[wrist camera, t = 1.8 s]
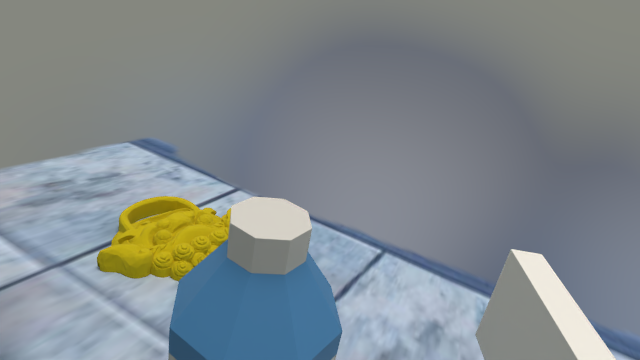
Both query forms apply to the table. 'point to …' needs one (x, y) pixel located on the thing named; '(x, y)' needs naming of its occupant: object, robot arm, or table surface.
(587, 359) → the robot arm
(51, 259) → the table surface
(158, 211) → the door knocker
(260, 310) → the water bottle
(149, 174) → the table surface
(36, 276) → the table surface
